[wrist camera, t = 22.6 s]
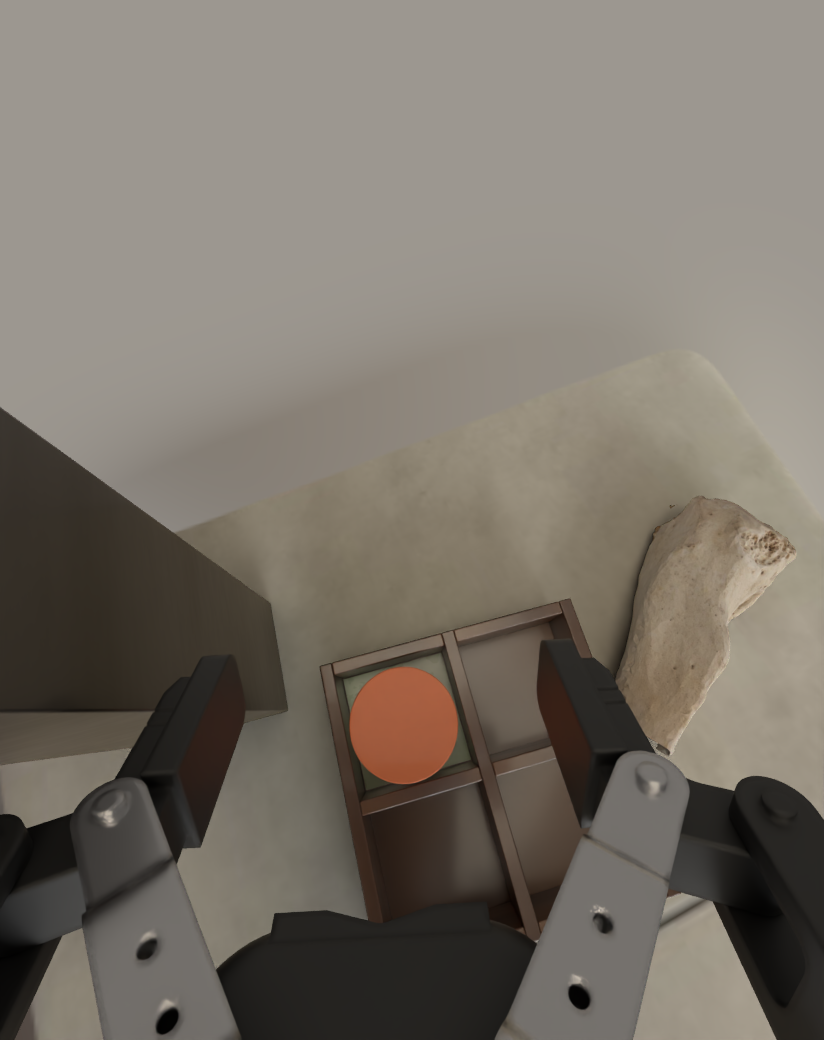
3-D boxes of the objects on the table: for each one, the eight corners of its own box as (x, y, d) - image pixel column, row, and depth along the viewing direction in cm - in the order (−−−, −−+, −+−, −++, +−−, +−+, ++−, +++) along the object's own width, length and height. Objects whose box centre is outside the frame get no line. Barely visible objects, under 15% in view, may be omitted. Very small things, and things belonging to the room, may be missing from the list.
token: (378, 772, 25) (362, 798, 18) (360, 690, 27) (338, 682, 19) (455, 749, 26) (472, 766, 18) (434, 669, 27) (441, 654, 19)
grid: (387, 951, 23) (381, 991, 20) (330, 671, 28) (319, 666, 24) (645, 868, 24) (682, 894, 21) (552, 611, 29) (570, 598, 25)
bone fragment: (667, 499, 31) (708, 465, 27) (766, 558, 30) (826, 533, 25) (552, 686, 27) (579, 684, 23) (660, 764, 26) (709, 776, 22)
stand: (175, 742, 27) (-667, 854, 6) (165, 629, 29) (-487, 422, 8) (288, 710, 27) (-126, 714, 6) (270, 602, 29) (-88, 341, 8)
